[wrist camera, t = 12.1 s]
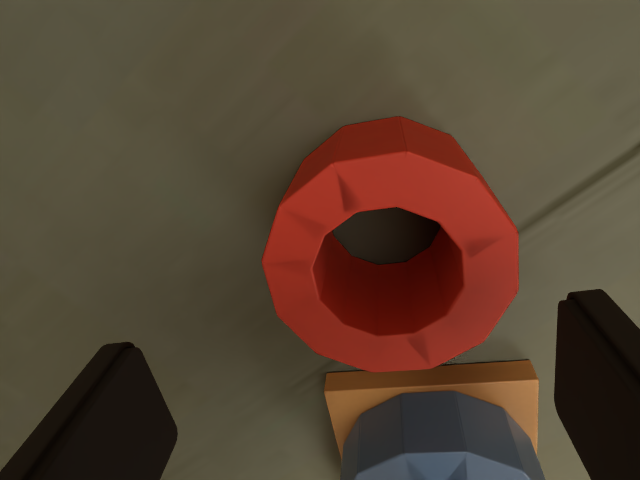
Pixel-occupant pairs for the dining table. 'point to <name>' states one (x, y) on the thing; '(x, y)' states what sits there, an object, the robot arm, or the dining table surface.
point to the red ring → (396, 278)
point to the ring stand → (470, 379)
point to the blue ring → (438, 441)
